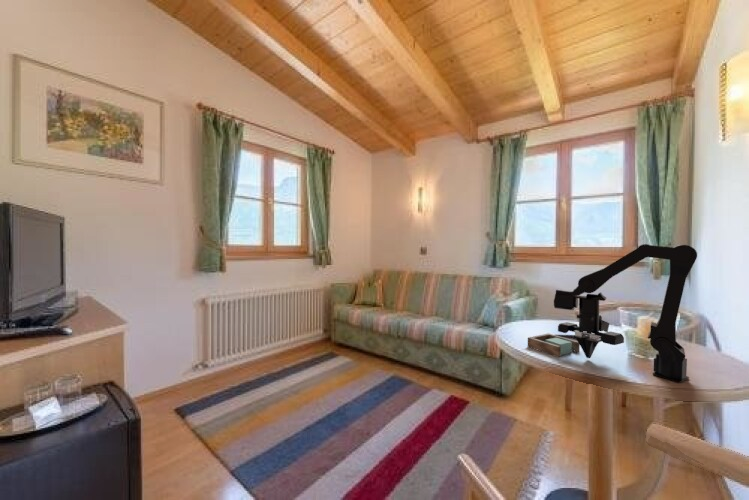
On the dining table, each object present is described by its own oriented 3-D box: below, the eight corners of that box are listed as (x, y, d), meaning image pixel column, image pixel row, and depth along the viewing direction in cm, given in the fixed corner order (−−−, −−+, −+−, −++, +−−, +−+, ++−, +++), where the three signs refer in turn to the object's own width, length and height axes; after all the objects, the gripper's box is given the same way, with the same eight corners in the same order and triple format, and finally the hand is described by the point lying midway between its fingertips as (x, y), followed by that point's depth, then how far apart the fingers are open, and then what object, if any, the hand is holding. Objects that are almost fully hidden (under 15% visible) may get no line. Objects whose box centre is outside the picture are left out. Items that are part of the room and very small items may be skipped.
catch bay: (579, 351, 121) (579, 341, 121) (558, 356, 115) (558, 346, 115) (548, 342, 132) (548, 333, 132) (527, 346, 126) (527, 337, 126)
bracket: (571, 349, 125) (572, 342, 124) (553, 337, 139) (554, 331, 139) (612, 351, 123) (612, 344, 123) (589, 339, 138) (589, 332, 138)
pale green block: (571, 353, 120) (571, 342, 120) (560, 355, 117) (560, 344, 117) (555, 348, 125) (556, 337, 125) (545, 350, 123) (545, 339, 122)
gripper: (633, 314, 107) (632, 362, 108) (575, 305, 124) (575, 346, 124) (614, 318, 102) (613, 368, 102) (557, 308, 119) (556, 351, 119)
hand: (588, 357), depth 112 cm, fingers closed
